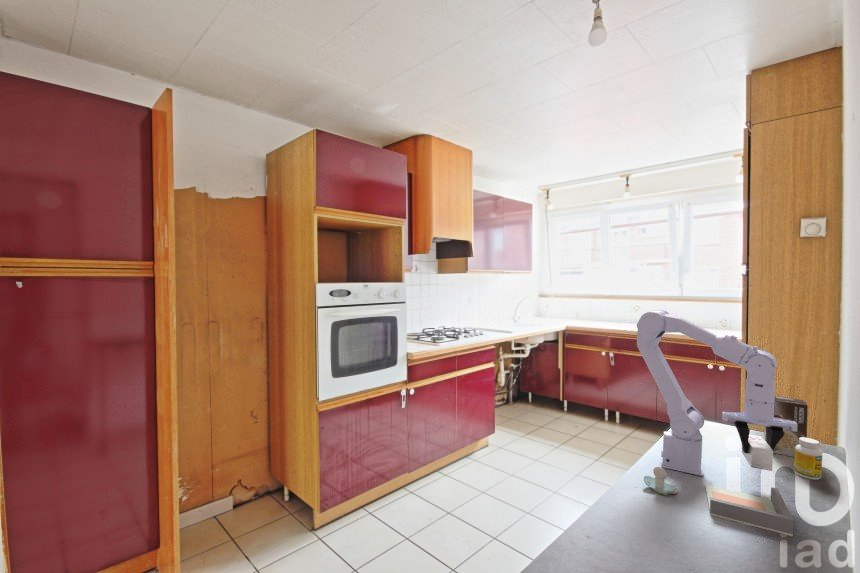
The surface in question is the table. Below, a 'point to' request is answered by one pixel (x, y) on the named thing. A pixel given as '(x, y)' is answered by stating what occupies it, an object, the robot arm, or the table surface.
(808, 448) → the supplement bottle
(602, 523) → the table surface
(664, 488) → the pacifier
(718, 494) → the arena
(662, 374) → the robot arm
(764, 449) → the aluminium bar
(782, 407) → the coffee box
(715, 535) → the table surface
